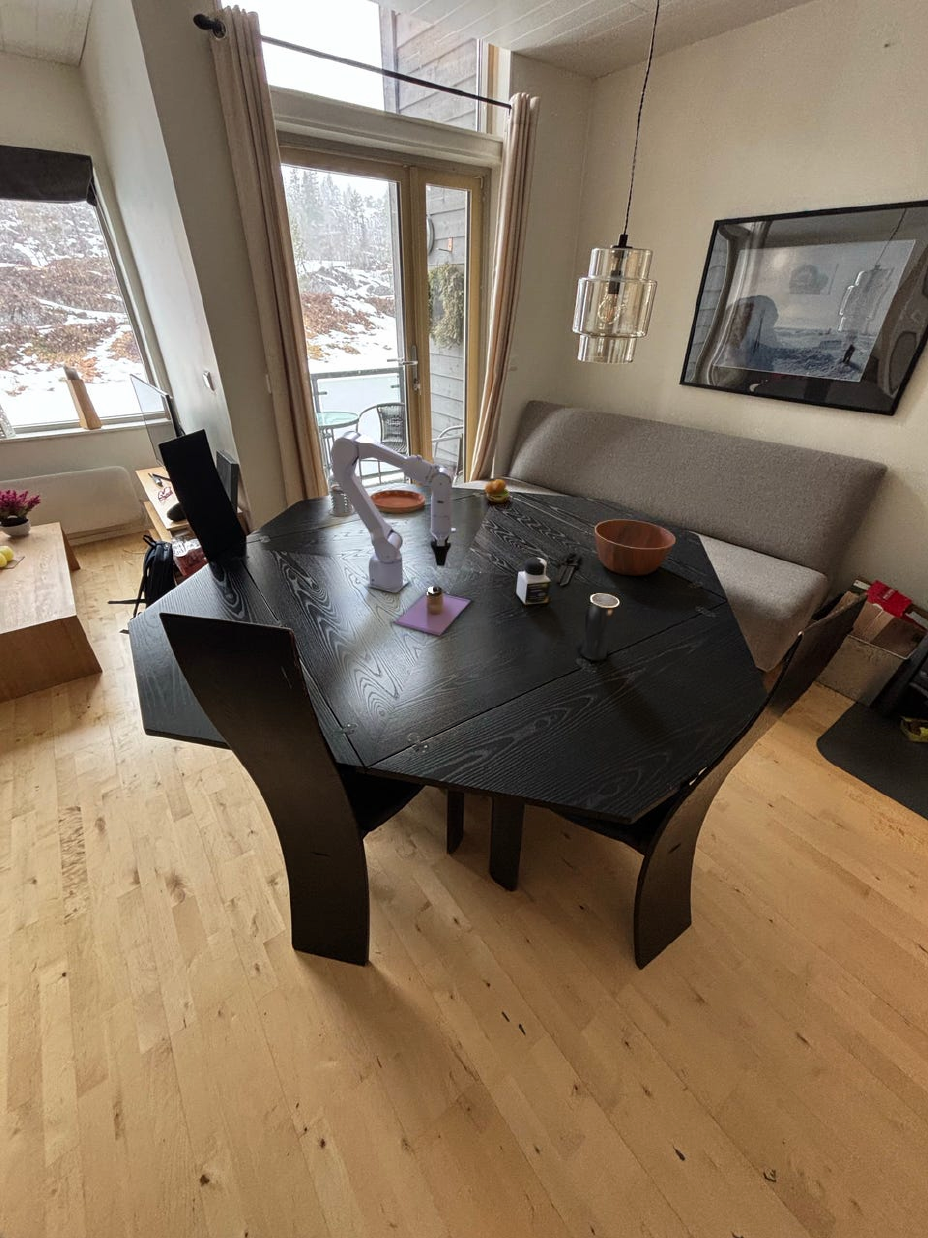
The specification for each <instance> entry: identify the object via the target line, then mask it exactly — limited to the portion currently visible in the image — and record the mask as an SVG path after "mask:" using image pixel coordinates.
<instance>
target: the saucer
mask: <svg viewBox="0 0 928 1238" xmlns="http://www.w3.org/2000/svg"><path fill="white" fill-rule="evenodd" d="M369 496H370V498H371V500H372V501H373V503H374V504H375V506H376V508H377V509H378V511H381V512H384V513H391V514H403V513H404V514H405V513H410V512H411V513H412V512H415V511H417V510H419V509H421V508H422V507H423V506H425V504H426V497H425V496H424V495H423V494H421V493H419V492H416V491H414V490H413V491H412V490H405V489H386V490H381V491H377V492H375V493H372V494H371V495H369Z"/></svg>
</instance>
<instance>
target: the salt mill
mask: <svg viewBox="0 0 928 1238" xmlns="http://www.w3.org/2000/svg"><path fill="white" fill-rule="evenodd" d="M426 594H427V613H428V614H431V615H439V614H441V613H442V612H443V594H444V592H443V588H441V587H440V586H435V585H434V586H430V587H428V588H427V591H426Z"/></svg>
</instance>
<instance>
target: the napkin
mask: <svg viewBox="0 0 928 1238" xmlns="http://www.w3.org/2000/svg"><path fill="white" fill-rule="evenodd" d="M470 603H471V599H466V598H463V597H458V596H454V595H451V594H445V593H443V612H442V613H441V614H439V615H431V614H428V613H427V593H426V594H424V595H423V596H422V597H421V598H420V599H419V600H418V601H417V602H416V603H414V604H413V605H412V606H411V607H410V608H409V609H408V610H407V611H406V612H405V613H403V615H402V616H400V618H398V619H397V620H396V621H395V622H394V625H398V626H402V627H405V628H409V629H413V630H416V631H419V632H424V633H426V634H427V633H428V634H431V635H435V636H438V637H440V636H441V635H442V634H443V633H444V632H445V630H446V629H448V627H449V626H450V625H452V623H453V622H454V621H455V620H456V619H457V617H458V616H460V614H461V613H462V612H463V610H464V609H466V607H467V606H468V605H469V604H470Z"/></svg>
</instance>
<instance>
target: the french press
mask: <svg viewBox="0 0 928 1238" xmlns="http://www.w3.org/2000/svg"><path fill="white" fill-rule="evenodd" d="M327 478H328V480H329V481H331V482H335V483H338V482H337V481H336V479H335V478H334V475H333V474H330V475H329V476H328V477H327ZM329 493H330V501H331V510H330V511H329V513H330V515H332V516H336V517H346V516H350V515H353V514H355V512H356V510H355V509H354V508H353V506H352V504H351V503H350V501H349V500H348V498H347V496H346V495H345V493H344V492H343V490H342V489H341V487H340V486H339V484H337V485H333V486H331V487H330V492H329Z"/></svg>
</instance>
